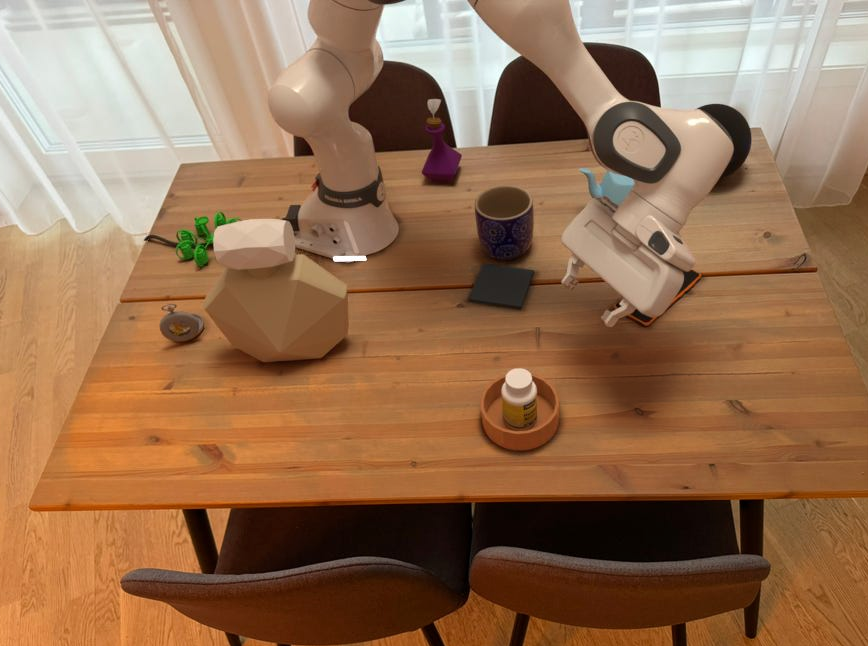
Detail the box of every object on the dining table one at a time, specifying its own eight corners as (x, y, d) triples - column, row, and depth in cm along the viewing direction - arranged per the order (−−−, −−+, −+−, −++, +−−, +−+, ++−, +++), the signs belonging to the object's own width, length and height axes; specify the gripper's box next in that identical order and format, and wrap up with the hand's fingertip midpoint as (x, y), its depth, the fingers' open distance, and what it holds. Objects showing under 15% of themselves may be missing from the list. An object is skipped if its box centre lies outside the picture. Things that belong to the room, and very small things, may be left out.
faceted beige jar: (235, 329, 138) (178, 206, 117) (363, 319, 137) (329, 192, 116) (222, 379, 130) (158, 256, 109) (359, 369, 128) (321, 242, 108)
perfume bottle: (456, 187, 161) (447, 111, 148) (423, 185, 163) (411, 110, 149) (463, 167, 166) (455, 92, 153) (431, 165, 168) (420, 91, 154)
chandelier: (194, 281, 148) (181, 254, 143) (167, 245, 157) (154, 218, 152) (262, 248, 153) (251, 221, 148) (232, 214, 162) (221, 188, 157)
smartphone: (612, 308, 132) (612, 305, 132) (667, 260, 139) (667, 257, 139) (647, 328, 128) (647, 324, 128) (702, 277, 136) (703, 274, 135)
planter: (536, 264, 142) (535, 217, 134) (479, 268, 143) (474, 222, 135) (532, 228, 150) (531, 181, 141) (478, 232, 150) (473, 186, 142)
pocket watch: (204, 313, 142) (184, 273, 134) (206, 339, 137) (186, 300, 129) (168, 322, 141) (147, 283, 133) (170, 350, 136) (147, 310, 128)
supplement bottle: (527, 436, 115) (525, 397, 108) (497, 423, 118) (493, 383, 110) (543, 412, 118) (542, 371, 111) (513, 399, 120) (511, 359, 113)
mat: (468, 301, 137) (467, 298, 137) (483, 266, 143) (483, 263, 143) (521, 309, 135) (520, 306, 134) (534, 273, 141) (534, 270, 140)
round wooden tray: (473, 442, 116) (471, 425, 113) (494, 384, 123) (492, 366, 120) (549, 457, 113) (549, 440, 110) (565, 397, 120) (566, 379, 117)
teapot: (576, 149, 148) (669, 143, 146) (575, 193, 156) (663, 189, 154) (581, 186, 140) (679, 181, 138) (579, 231, 148) (672, 227, 146)
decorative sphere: (669, 153, 162) (677, 89, 151) (741, 154, 160) (755, 89, 149) (669, 195, 153) (678, 129, 142) (746, 197, 150) (761, 130, 139)
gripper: (586, 183, 108) (532, 261, 113) (683, 257, 96) (617, 341, 100) (609, 197, 113) (556, 271, 117) (705, 269, 100) (641, 350, 105)
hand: (585, 304), depth 108 cm, fingers open, 8 cm apart
